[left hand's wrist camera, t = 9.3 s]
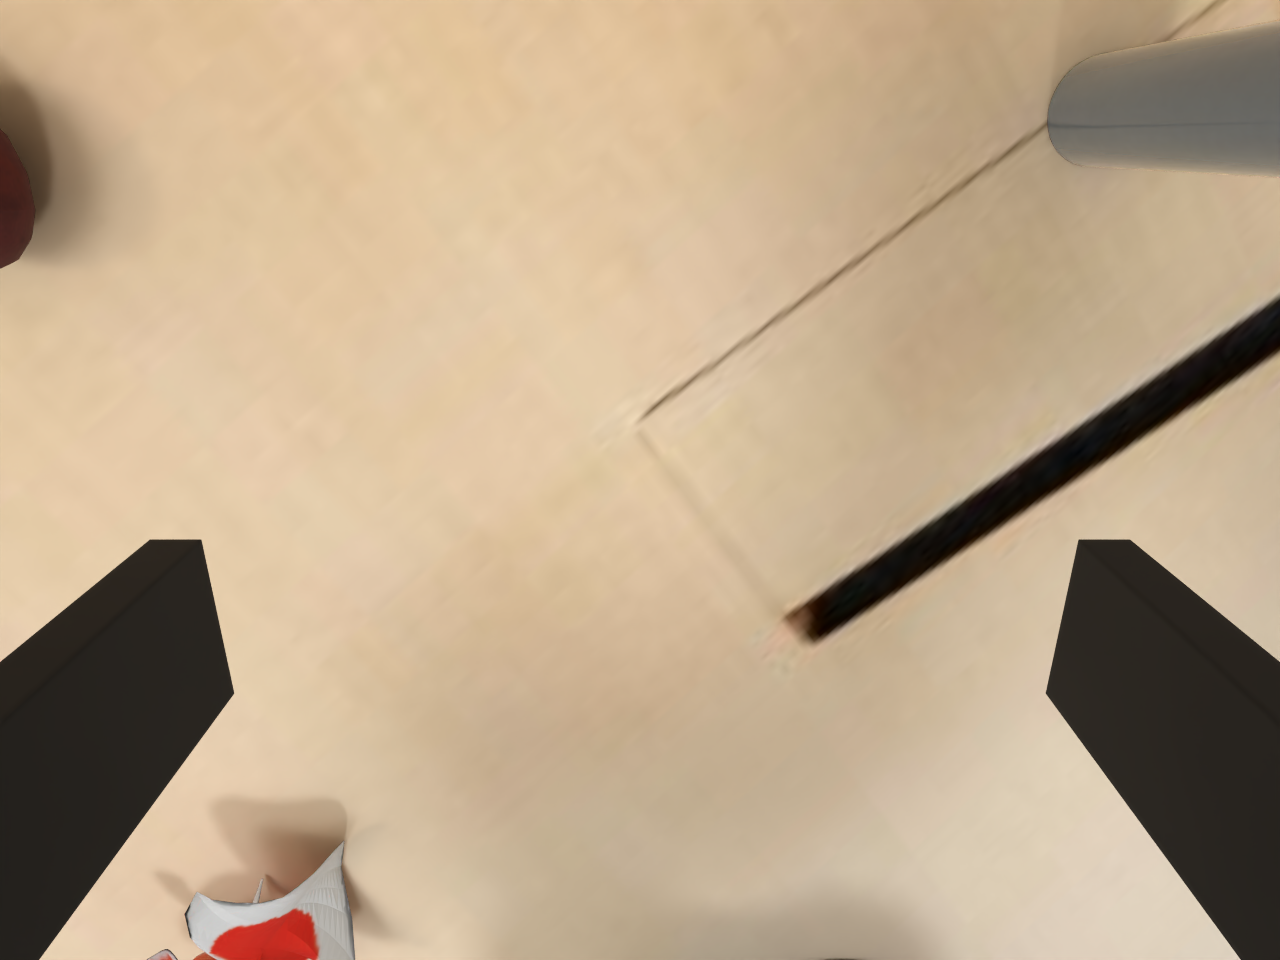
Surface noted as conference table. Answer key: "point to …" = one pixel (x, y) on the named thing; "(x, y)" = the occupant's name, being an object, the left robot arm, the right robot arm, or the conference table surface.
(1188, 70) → the bottle
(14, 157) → the dark maroon ball
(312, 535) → the conference table surface
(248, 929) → the fish
